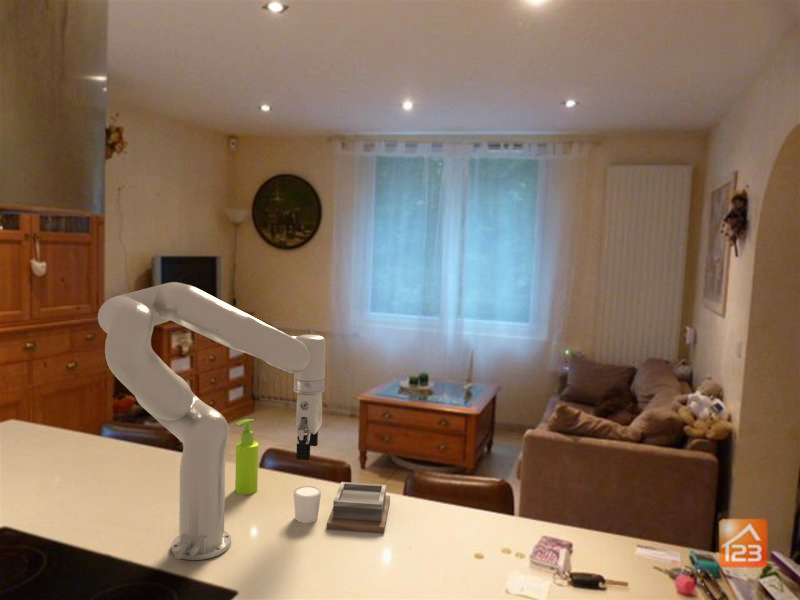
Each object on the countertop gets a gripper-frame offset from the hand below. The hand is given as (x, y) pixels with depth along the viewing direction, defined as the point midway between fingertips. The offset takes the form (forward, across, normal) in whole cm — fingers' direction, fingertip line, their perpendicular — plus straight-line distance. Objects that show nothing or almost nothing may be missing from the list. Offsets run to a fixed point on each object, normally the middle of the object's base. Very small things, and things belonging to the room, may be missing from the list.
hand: (307, 452), depth 147 cm
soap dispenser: (+17, +12, +19) cm, 29 cm away
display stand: (+17, +3, -14) cm, 22 cm away
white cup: (+17, -1, 0) cm, 17 cm away
